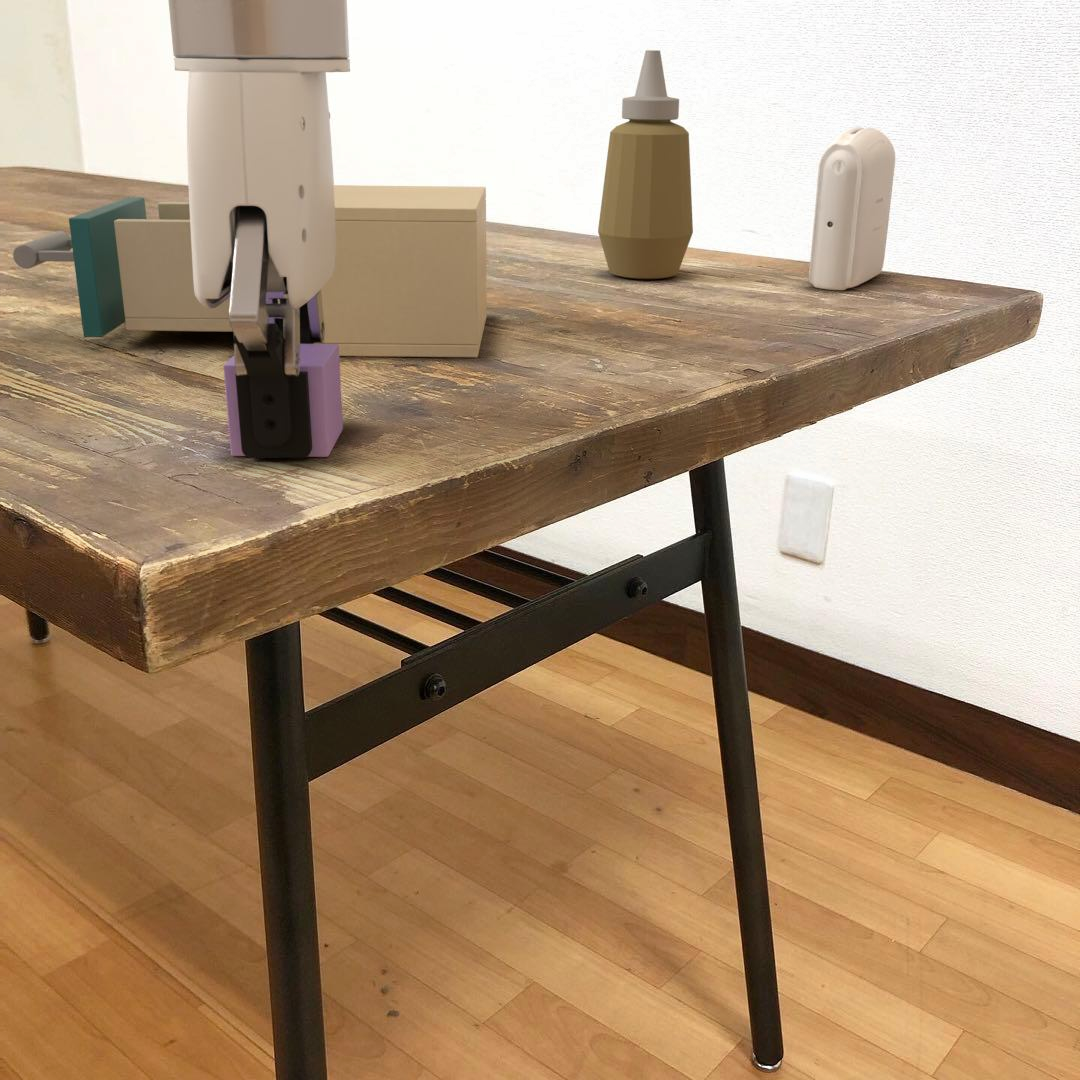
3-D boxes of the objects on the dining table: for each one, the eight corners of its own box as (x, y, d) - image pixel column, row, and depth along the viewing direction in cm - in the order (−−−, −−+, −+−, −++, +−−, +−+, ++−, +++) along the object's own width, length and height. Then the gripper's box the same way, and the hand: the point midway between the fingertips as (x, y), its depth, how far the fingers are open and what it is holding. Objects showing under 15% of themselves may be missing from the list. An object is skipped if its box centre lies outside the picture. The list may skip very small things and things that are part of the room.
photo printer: (852, 293, 99) (869, 131, 95) (801, 287, 101) (815, 129, 97) (888, 275, 108) (905, 125, 103) (840, 270, 110) (855, 123, 105)
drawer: (7, 336, 78) (-11, 217, 75) (72, 301, 88) (58, 196, 85) (298, 339, 77) (290, 220, 75) (327, 304, 88) (322, 199, 85)
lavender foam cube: (231, 456, 58) (222, 365, 57) (252, 428, 62) (245, 342, 61) (328, 457, 58) (323, 366, 57) (343, 429, 62) (338, 343, 61)
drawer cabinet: (244, 355, 77) (232, 205, 74) (284, 315, 89) (275, 184, 86) (477, 357, 77) (476, 208, 74) (486, 317, 89) (485, 186, 86)
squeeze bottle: (621, 285, 101) (629, 50, 95) (581, 270, 108) (586, 49, 102) (707, 280, 104) (721, 51, 98) (663, 265, 111) (673, 50, 105)
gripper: (222, 37, 61) (250, 393, 68) (110, 32, 46) (161, 496, 52) (373, 38, 61) (386, 395, 68) (313, 35, 46) (338, 498, 52)
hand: (288, 435), depth 60 cm, fingers closed on lavender foam cube, 4 cm apart
